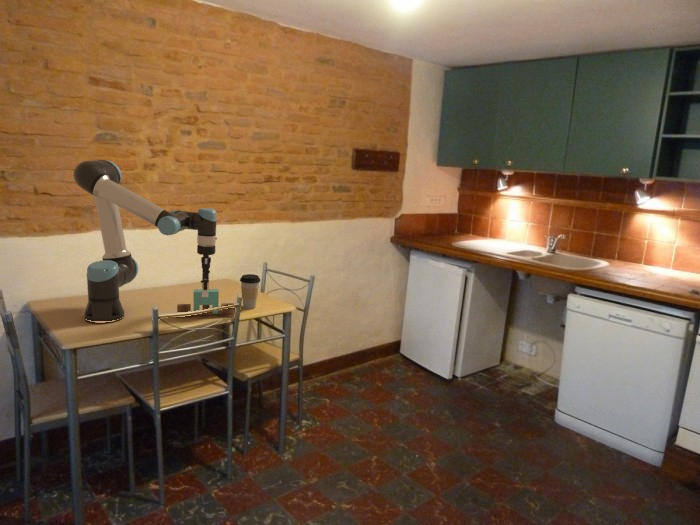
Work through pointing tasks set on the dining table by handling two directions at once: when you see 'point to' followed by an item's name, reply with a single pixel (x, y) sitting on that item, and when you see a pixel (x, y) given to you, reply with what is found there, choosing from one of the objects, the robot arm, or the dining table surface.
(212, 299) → the clip
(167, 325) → the dining table surface
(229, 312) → the rail
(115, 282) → the robot arm
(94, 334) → the dining table surface
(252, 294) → the coffee cup
